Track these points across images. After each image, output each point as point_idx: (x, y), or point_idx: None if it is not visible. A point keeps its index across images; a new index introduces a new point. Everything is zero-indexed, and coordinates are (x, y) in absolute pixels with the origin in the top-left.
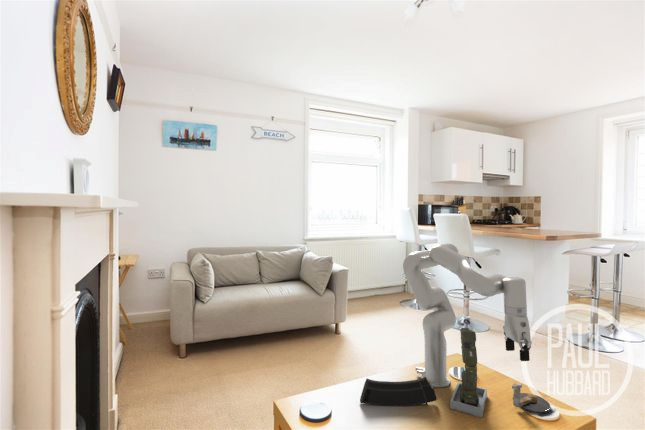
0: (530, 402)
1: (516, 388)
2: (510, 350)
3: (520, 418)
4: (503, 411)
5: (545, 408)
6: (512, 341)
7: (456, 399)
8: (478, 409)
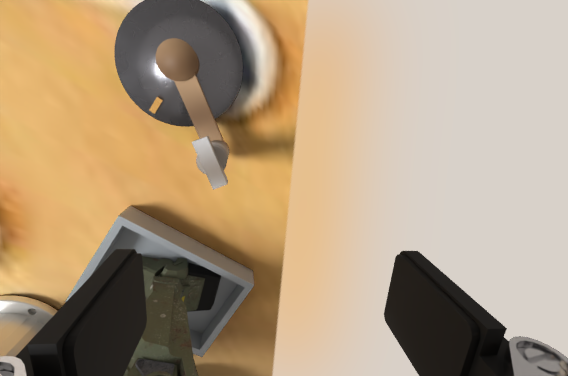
0: None
1: (223, 171)
2: (144, 293)
3: (262, 162)
4: (222, 194)
5: (234, 46)
6: (82, 361)
7: None
8: (248, 292)
